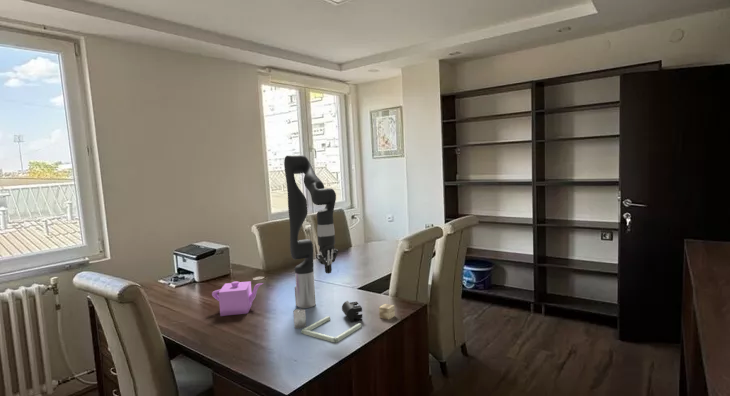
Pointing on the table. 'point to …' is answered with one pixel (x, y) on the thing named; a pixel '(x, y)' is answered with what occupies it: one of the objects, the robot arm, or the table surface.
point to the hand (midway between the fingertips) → (328, 272)
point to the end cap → (352, 311)
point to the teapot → (235, 297)
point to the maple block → (386, 311)
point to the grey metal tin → (299, 318)
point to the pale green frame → (326, 337)
